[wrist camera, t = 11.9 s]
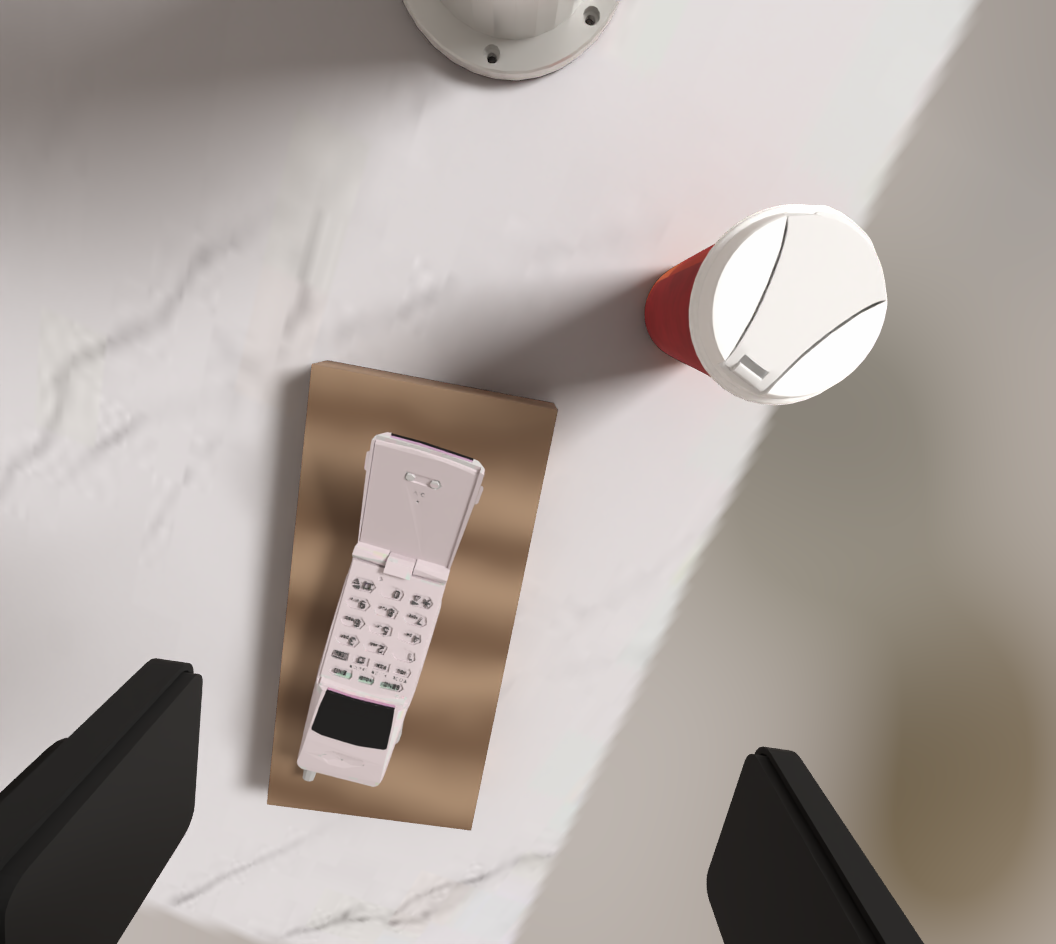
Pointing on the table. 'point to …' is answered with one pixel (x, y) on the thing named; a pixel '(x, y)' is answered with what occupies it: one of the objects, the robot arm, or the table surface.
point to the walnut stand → (468, 600)
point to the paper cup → (774, 304)
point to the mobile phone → (387, 605)
